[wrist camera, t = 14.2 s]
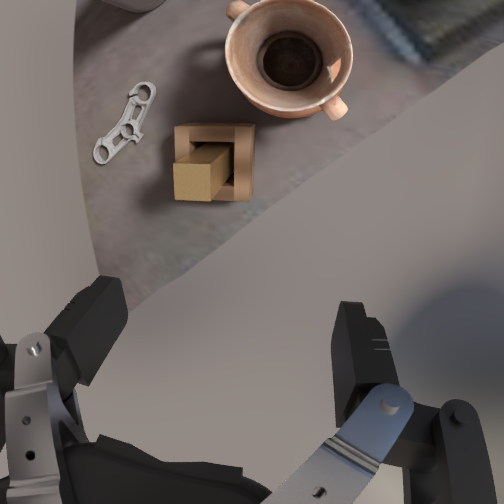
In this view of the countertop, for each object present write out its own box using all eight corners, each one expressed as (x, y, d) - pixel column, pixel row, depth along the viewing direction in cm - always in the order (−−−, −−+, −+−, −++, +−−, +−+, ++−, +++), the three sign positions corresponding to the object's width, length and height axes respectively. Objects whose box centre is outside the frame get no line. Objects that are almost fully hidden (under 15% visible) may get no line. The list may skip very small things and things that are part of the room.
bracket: (79, 135, 43) (144, 77, 38) (86, 133, 45) (150, 77, 40) (102, 171, 46) (170, 117, 41) (108, 168, 48) (175, 116, 42)
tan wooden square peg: (207, 142, 44) (173, 163, 31) (234, 143, 43) (210, 164, 31) (207, 169, 45) (174, 199, 33) (233, 170, 45) (210, 201, 33)
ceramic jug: (369, 85, 37) (402, 79, 24) (289, 144, 42) (287, 162, 30) (284, -8, 32) (279, -51, 19) (205, 52, 37) (168, 34, 25)
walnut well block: (186, 122, 42) (174, 126, 38) (255, 123, 41) (250, 127, 37) (187, 187, 47) (177, 198, 43) (253, 191, 46) (248, 202, 42)
